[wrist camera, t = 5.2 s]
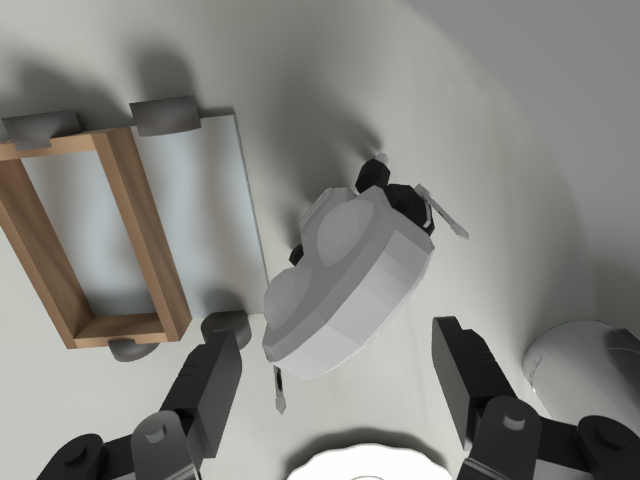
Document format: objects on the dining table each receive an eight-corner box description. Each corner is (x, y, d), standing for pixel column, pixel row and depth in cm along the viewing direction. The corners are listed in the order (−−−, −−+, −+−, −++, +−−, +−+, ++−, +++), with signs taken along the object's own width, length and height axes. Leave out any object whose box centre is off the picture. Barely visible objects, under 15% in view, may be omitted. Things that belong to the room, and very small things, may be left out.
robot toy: (359, 122, 25) (397, 176, 11) (405, 161, 26) (491, 253, 12) (264, 243, 29) (208, 389, 15) (307, 272, 30) (291, 432, 17)
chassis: (230, 91, 24) (213, 93, 20) (276, 321, 32) (269, 352, 29) (-11, 119, 25) (-68, 126, 22) (94, 334, 34) (65, 366, 30)
